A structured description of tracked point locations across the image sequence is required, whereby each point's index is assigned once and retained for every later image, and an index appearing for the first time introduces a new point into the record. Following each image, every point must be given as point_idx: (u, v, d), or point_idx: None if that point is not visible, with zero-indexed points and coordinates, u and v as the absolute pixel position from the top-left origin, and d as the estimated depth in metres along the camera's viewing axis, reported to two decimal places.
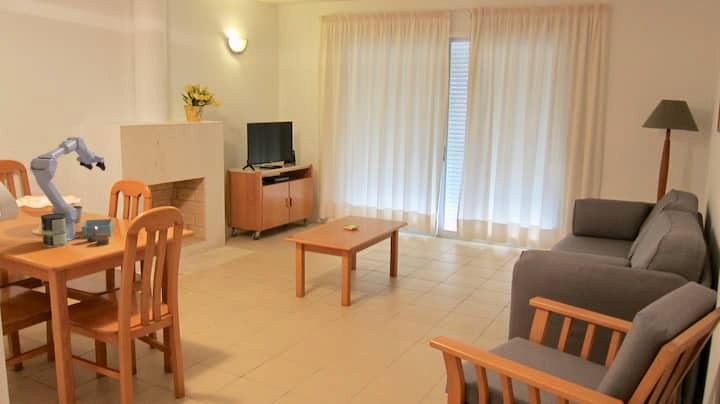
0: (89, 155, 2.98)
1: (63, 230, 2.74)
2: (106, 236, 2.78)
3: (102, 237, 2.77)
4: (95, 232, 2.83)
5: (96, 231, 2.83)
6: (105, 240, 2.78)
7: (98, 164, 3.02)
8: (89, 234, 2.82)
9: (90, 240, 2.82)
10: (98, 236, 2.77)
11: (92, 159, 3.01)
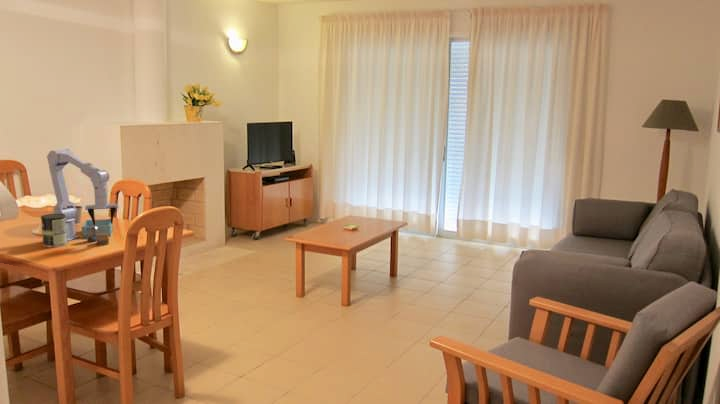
0: None
1: (63, 230, 2.74)
2: (106, 236, 2.78)
3: (102, 237, 2.77)
4: (95, 232, 2.83)
5: (96, 231, 2.83)
6: (105, 240, 2.78)
7: None
8: (89, 234, 2.82)
9: (90, 240, 2.82)
10: (98, 236, 2.77)
11: None
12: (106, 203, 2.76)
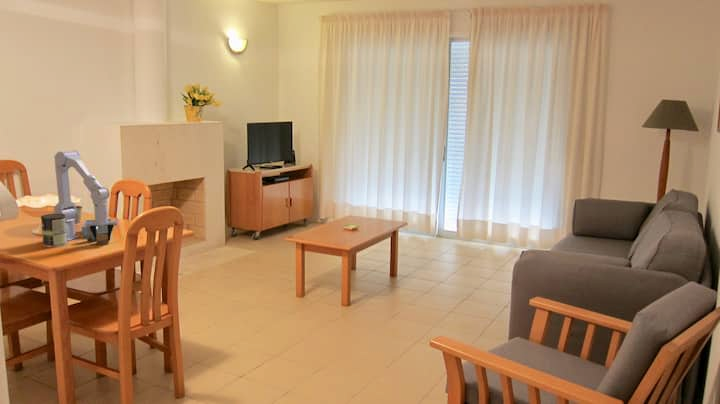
0: None
1: (63, 230, 2.74)
2: (106, 236, 2.78)
3: (102, 237, 2.77)
4: None
5: None
6: (105, 240, 2.78)
7: None
8: (89, 234, 2.82)
9: (90, 240, 2.82)
10: (98, 236, 2.77)
11: None
12: (106, 220, 2.77)
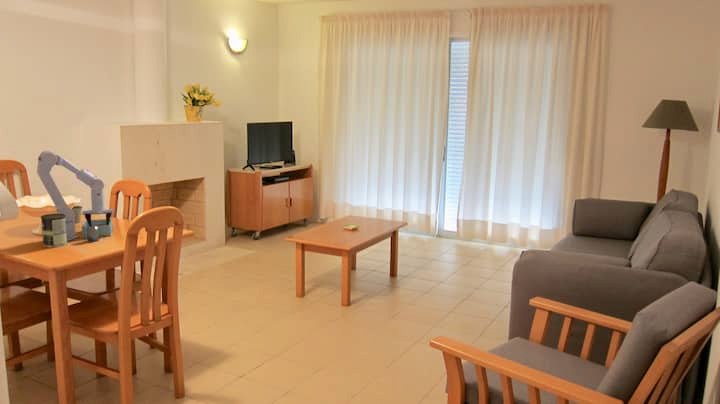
0: None
1: (63, 230, 2.74)
2: None
3: None
4: (95, 232, 2.83)
5: (96, 231, 2.83)
6: None
7: None
8: (89, 234, 2.82)
9: (90, 240, 2.82)
10: None
11: None
12: (102, 209, 2.94)
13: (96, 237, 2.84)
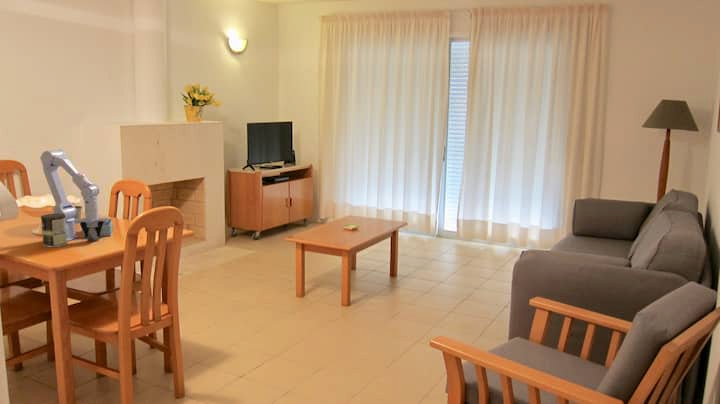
0: None
1: (63, 230, 2.74)
2: None
3: None
4: (95, 232, 2.83)
5: (96, 231, 2.83)
6: None
7: None
8: (89, 234, 2.82)
9: (90, 240, 2.82)
10: None
11: None
12: (96, 217, 2.82)
13: (96, 237, 2.84)
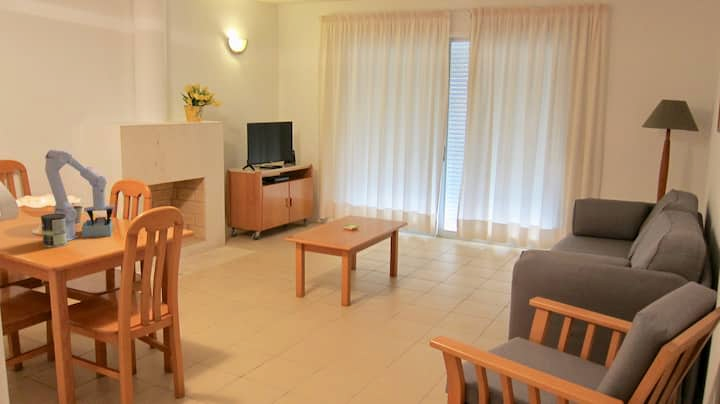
0: None
1: (63, 230, 2.74)
2: None
3: None
4: (104, 222, 3.02)
5: (104, 221, 3.02)
6: None
7: None
8: None
9: None
10: None
11: None
12: (104, 205, 3.02)
13: None
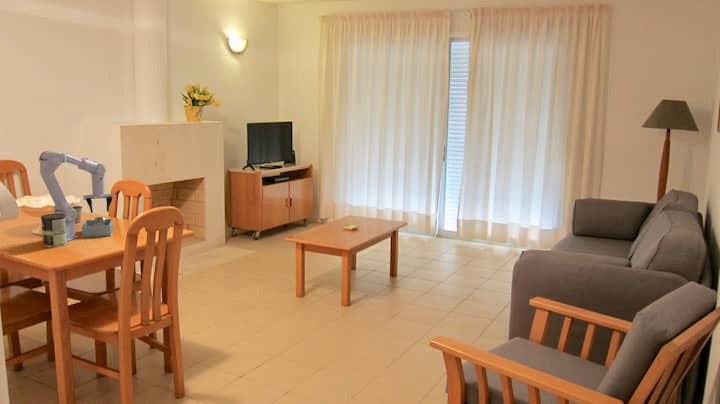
0: None
1: (63, 230, 2.74)
2: None
3: None
4: (104, 222, 3.02)
5: (104, 221, 3.02)
6: None
7: None
8: None
9: None
10: None
11: None
12: (103, 193, 3.01)
13: None
